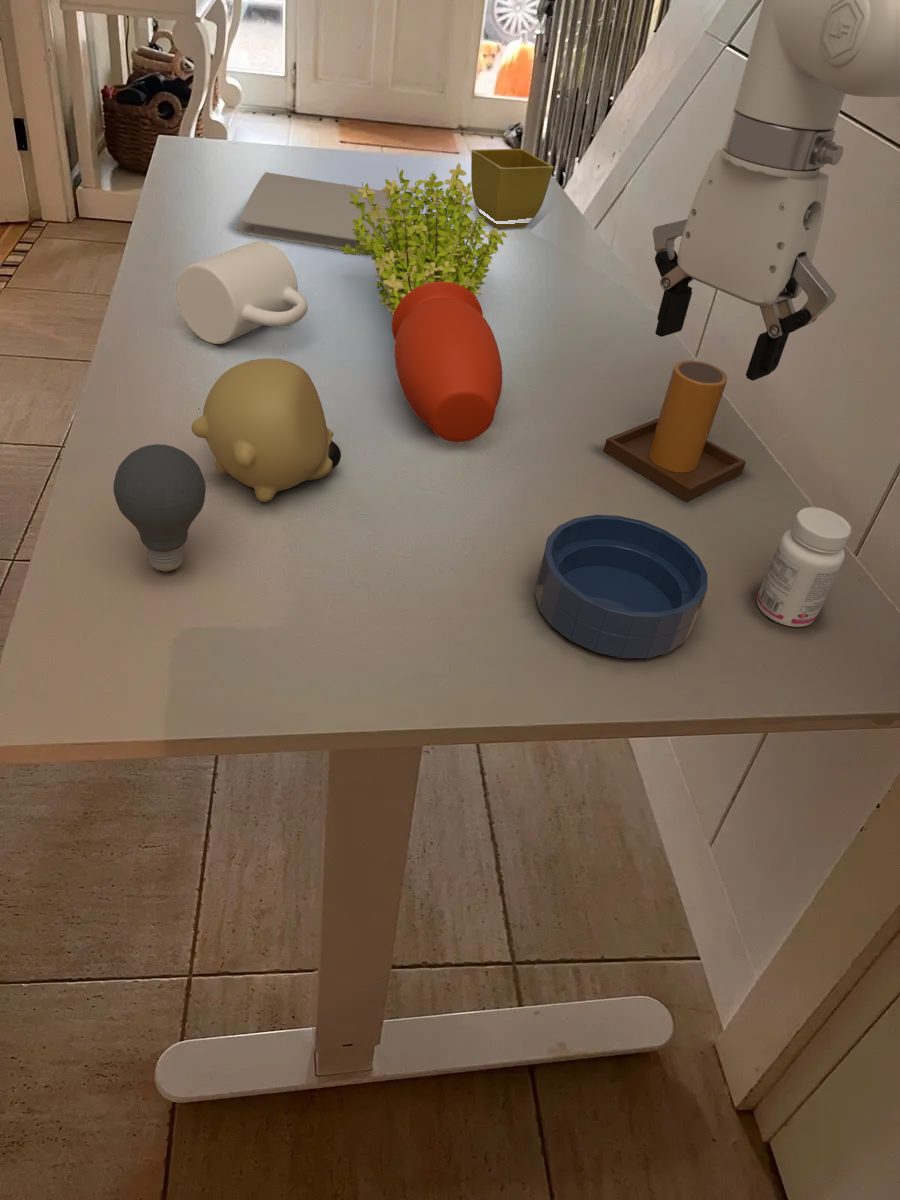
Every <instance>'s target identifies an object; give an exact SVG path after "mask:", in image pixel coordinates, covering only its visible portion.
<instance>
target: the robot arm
mask: <svg viewBox="0 0 900 1200" xmlns="http://www.w3.org/2000/svg"><path fill="white" fill-rule="evenodd" d="M846 95H850V96H853V97H861V98H862V97H864V98H898V97H900V0H763V1H762V4H761V8H760V12H759V16H758V19H757V23H756V27H755V30H754V34H753V38H752V41H751V45H750V47H749V52H748V56H747V59H746V63H745V67H744V70H743V74H742V77H741V81H740V85H739V89H738V93H737V96H736V100H735V103H734V107H733V111H732V114H731V118H730V122H729V125H728V128H727V132H726V136H725V140H724V143H723V147H722V148H718V149H716V151H715V152H714V154H713V156H712V157H711V159H710V162H709V163H708V166H707V167H706V170H705V173H704V175H703V176H702V179H701V182H700V183H699V186H698V188H697V190H696V193H695V196H694V198H693V202H692V205H691V207H690V210H689V213H688V216H687V219H683V220H678V221H675V222H669V223H665V224H661V225H656V226H655V227H654V228H653V230H652V237H653V246H654V251H655V252H656V254H655V255H654V262H655V265H656V267H657V270H658V272H659V275H660V277H661V279H660V281H659V286H660V287H661V289H662V290H664V291H663V293H662V294H663V295H662V297H661V302H660V306H659V310H658V314H657V318H656V319H657V325H656V328H655V335H656V336H658V337H660V338H662V337H666V336H669V335H672V334H676V333H678V332H681V331H682V329H683V327H684V323H685V321H686V316H687V313H688V309H689V305H690V301H691V299H692V295H693V287H691V286H689V284H690V283H691V282H692V281H697V282H699V283H702V284H704V285H706V286H708V287H711V288H713V289H715V290H718V291H720V292H722V293H724V294H727V295H729V296H732V297H733V298H736V299H740V300H741V301H744V302H746V303H748V304H751V305H755V306H757V307H759V310H760V312H761V315H762V320H763V322H764V324H765V325H764V326H765V328H766V331H765V332H762V333H760V334H759V335H758V336H757V340H756V342H755V345H754V348H753V351H752V354H751V357H750V361H749V363H748V366H747V369H746V372H745V377H746V379H748V380H750V381H753V382H754V381H756V380H759V379H761V378H764V377H765V376H769V375H770V374H771V373H773V372H775V370H776V369H777V367H778V366H779V363H780V361H781V358H782V356H783V352H784V350H785V347H786V344H787V341H788V337H789V335H790V334H791V333H794V332H796V331H797V330H799V329H802V328H803V327H805V326H808V325H810V324H811V323H814V322H815V321H816V320H817V319H818V317H820V316H821V315H822V314H823V313H824V312H825V311H826V310H827V309H828V308H829V307H830V306H831V305H833V303H835V301H836V299H837V294H836V292H835V291H834V289H833V288H832V287H831V286H830V285H829V283H828V281H827V280H826V279H825V278H824V277H823V275H821V273H820V272H819V271H818V269H817V268H816V267H815V266H814V265H813V264H812V262H813V258H814V255H815V252H816V247H817V243H818V240H819V235H820V232H821V227H822V223H823V219H824V214H825V207H826V201H827V194H828V186H829V178H830V177H829V175H828V174H826V173H823V172H821V169H822V168H824V167H825V165H827V164H828V165H830V166H836V165H838V163H839V162H840V161H841V159H842V157H843V154H844V147H843V146H842V145H839V144H836V143H835V141H833V139H834V137H835V134H836V130H834V129H835V126H836V124H837V120H838V118H839V115H840V112H841V109H842V105H843V104H844V103H843V102H844V100H845V98H846ZM678 237H679V238H680V237H681V239H680V243H679V247H678V251H676V250H675V240H676V239H677V238H678ZM802 291H804V293H805V294H806V296H807V301H806V302H805V304H804V305H802V307H801V308H800V309H799V310H797V311H796V309H795V307H794V303H793V299H796V298H798V297H799V296H800V295H801V293H802Z"/></svg>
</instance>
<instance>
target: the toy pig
mask: <svg viewBox="0 0 900 1200" xmlns="http://www.w3.org/2000/svg"><path fill="white" fill-rule="evenodd" d="M323 408H324V407H323V405H322V402H321V399H320V396H319V393H318V391H317V389H316V386H315V384H314V382H313V380H312V379H311V377H310V375H309V374H308V373H307V372H306V370H305V369H304V368H303V367H302V366H299V365H298V364H296V363H294V362H291V361H288V360H285V359H282V358H281V359H280V358H268V357H267V358H257V359H251V360H247V361H244V362H241V363H239V364H236V365H234V366H232V367H230V368H229V369H227V370H226V371H225V372H223V373H222V374H221V375H220V376H219V378H217V380H216V381H215V382H214V384H213V385H212V387H211V388H210V390H209V392H208V394H207V396H206V400H205V401H204V406H203V410H202V411H203V412H202V415H201V416H200V417H198V418H196V419H195V420H194V421H192V424H191V431H192V433H193V435H194V436H196V437H197V438H200V439H204V440H205V441H206V443H207V445H208V447H209V449H210V451H211V453H212V455H213V457H214V458H215V461H214V467H215V469H216V471H217V472H218V473H220V474H229V475H230V476H232V477H233V478H234V479H235V480H237V481H238V482H240V483H242V484H244V485H245V486H247V487H249V488H253V489H254V494H255V497H256V499H258V500H259V501H260V502H263V503H264V502H265V503H266V502H269V501H271V500H272V499H273V498H274V497H275V495H276V494H277V492H278V491H279V492H280V491H284V490H288V489H291V488H293V487H295V486H298V485H299V484H301V483H302V482H305V481H314V480H319V479H322V478H324V477H326V476H328V475H329V474H330V472H331V471H332V470H333V469H335V468H337V466H338V465H339V463H340V462H341V459H342V452H341V449H340V447H339V446H338V444H337V443H336V442H335V441H333V439H332V438H333V436H334V432H333V431H332V430H330V429H328V427H327V423H326V417H325V413H324V410H323Z"/></svg>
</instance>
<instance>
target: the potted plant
mask: <svg viewBox="0 0 900 1200" xmlns="http://www.w3.org/2000/svg"><path fill="white" fill-rule="evenodd" d="M461 168H462V166H461V163H460V162H458V163H457V164H456V168H455V169H454V168H450V169H449V173H450V174H451V178H450V179H445V180H444V182H443V181H442V180H438V181H436V180H437V179H438V177H437V176H436V175H437V173H434V172H435V170H433V171H432V172H431V173H430V174H429V177H428V176H426V177H425V179H424V180H422V179H418V180H416V181H414V182H415V183H414V186H411V187H408V186H409V184H410V182H411V180H410V179H405V178H404V177H403V176H404V169H401V170H400V171H399V169H398V166H396V171H397V173H398V179H399V183H400V185H401V186H398V184H397V180H396V179H393V180H391V182H390V180H389V179H386V178H384V180H385V185H384V188H382V189H381V191H382V192H384V193H387V195H386V199H387V200H389V199H390V201H391V199H393V201H391V203H390V207H391V208H388V207H387V208H385V210H386V211H387V212H389V213H386V214H385V213H384V212H379V211H380V205H379V204H373V199H374V196H375V192H374V191H372V190H370V191H368V190H369V189H370V187H369V183H368V182H367V183H365V184H363V183H361V187H362V188H364V190H363V189H358V190H357V192H359V193H362V194H363V195H362V198H363V199H366V197H367V196H370V197H369V198H368V199H367V200H368V201H369V203H370V201H371V203H370V204H371V206H375V207H374V208H372V209H373V210H370V211H368V213H367V214H366V215H365V212H364V209H365V206H364V205H365V202H364V203H362V202H360V203H358V202H357V201H358V200H359V198H360V195H359V193H358V194H357V195H356V198H355V195H354V194H353V193H351V192H349V193H350V196H351V198H353V201H350V202H349V203H351V204H354V205H355V206H356V208H357V209H359V208H361V213H362V215H363V216H362V217H361V218H360V216H359V218H358V220H355V219H354V220H352V221H353V222H354V223H355V225H354V226H355V228H352V230H354V231H355V232H354V233H353V234H354V235H356V237H355V238H356V239H357V241H356V243H359V242H360V241H361V242H360V244H359V245H358V246H357V247H356V245H355V249H352V247H351V249H350V246H349V245H348V244H346V249H345V248H343V247H340V248H339V249H338V250H339V251H341V252H342V253H341V254H342V255H351V256H371V257H370V258H371V260H372V261H374V262H373V267H375V271H376V272H377V274H375V275H374V277H375V278H378V280H377V281H376V282H377V283H376V284H375V285H374V286H375V287H376V289H379V291H378V293H377V294H378V296H381V297H380V300H381V301H380V302H379V304H380V305H383V306H384V307H385V308H387V309H388V312H389V313H390V314H391V315H392V320H391V333H392V336H393V340H394V363H395V369H396V374H397V378H398V382H399V385H400V388H401V391H402V393H403V396H404V398H405V400H406V402H407V404H408V405H409V407H410V409H411V410H412V411H413V413H414V414H415V415H416V416H417V417H418V418H419V419H420V420H421V422H422V423H424V425H426V426H427V427H428V428H429V429H431V431H432V432H433V433H434V434H435V435H436V436H437V437H438V438H440V439H442V440H444V441H447V442H450V443H465V442H469V441H472V440H475V439H476V438H478V437H480V436H482V435H483V434H484V433H485V432H487V431H488V429H489V428H490V427H491V425H492V423H493V421H494V419H495V414H496V410H497V407H498V404H499V401H500V397H501V395H502V389H503V366H502V359H501V353H500V351H499V347H498V343H497V341H496V337H495V334H494V332H493V330H492V327H491V326H490V324H489V323H488V321H487V320H486V318H485V317H484V312H483V307H482V306H481V303H480V301H479V300H478V296H477V295H482V294H483V292H482V291H478V290H481V286H482V285H484V284H486V282H484V281H483V279H485V278H487V275H486V273H488V272H490V270H491V269H489V265H490V264H492V261H491V260H492V259H493V256H492V255H494V254H497V252H498V251H499V246H498V244H500V245H501V246H504V241H503V239H502V238H506V239H507V238H508V235H507V233H506V232H504V231H501V232H500V233H499V232H498V228H496V227H494V229H491V230H489V232H488V234H487V231H486V230H484V227H488V224H487V223H488V222H487V221H485V220H484V219H483V218H486V217H484V216H480V215H479V214H477V215H476V216H475V219H474V220H473V219H471V217H469V216H468V214H469V213H471V212H472V211H473V210H474V208H472V205H470V204H468V203H469V202H470V201H472V200H474V197H473V193H472V190H471V188H472V185H471V181H470V182H469V183H468V184H467V185H466V186H465V183H464V181H463V180H462V179H461V178H459V176H466V175H467V172H466V171H465V170H464V169H461ZM427 177H428V179H427ZM422 184H423V187H424V190H423V189H422V188H420V186H421V185H422ZM363 185H364V186H363ZM444 185H449V186H448V187H447V188H446V189H445V190H444V188H443V187H442V186H444ZM438 188H440V189H438ZM400 192H402V193H400ZM399 193H400V194H402V195H401V197H400V194H399ZM412 196H414V197H413V198H412V202H410V201H411V197H412ZM399 197H400V198H403V199H401V200H402V202H401V200H400V199H398V198H399ZM404 199H408V200H406V201H405V200H404ZM403 200H404V201H403ZM407 201H408V202H407ZM463 201H464V204H463ZM410 204H411V206H410ZM359 206H360V207H359ZM371 206H370V207H371ZM407 207H409V208H408V209H407ZM359 210H360V209H359ZM405 210H406V211H405ZM424 210H425V212H424ZM399 211H401V212H402V213H403V214H405V216H406V217H403V216H402V215H401V214H400V213H399ZM391 212H392V213H391ZM422 212H424V213H422ZM372 215H374V217H373V222H372V221H371V216H372ZM386 215H387V217H388V219H389V221H385V220H386V219H385V218H381V219H379V218H378V216H380V217H385V216H386ZM365 216H367V219H364V217H365ZM481 217H483V218H481ZM363 220H365V221H366V222H368V224H370V225H371V226H372V227H373V228H374V229H375V230H376V229H378V230H379V232H377V231H375V230H373V233H374V234H372V235H370V232H369V230H367V229H365V228H366V226H365V223H364V224H362V221H363ZM377 220H378V221H377ZM390 220H391V221H390ZM376 221H377V222H378V224H379V222H380V224H379V225H378V226H377V227H376V228H375V224H374V223H375V222H376ZM384 221H385V224H387V225H389V226H385V225H384ZM484 221H485V222H484ZM359 224H360V225H361V226H360V225H359ZM383 225H384V229H383V227H382V226H383ZM385 227H388V228H389V231H385ZM383 231H384V232H383ZM364 232H367V233H366V234H365V233H364ZM368 232H369V233H368ZM382 232H383V235H384V237H383V236H382V235H381V233H382ZM378 233H379V234H378ZM385 233H386V234H388V235H387V237H386V236H385ZM360 235H361V237H360ZM482 235H483V236H484V237H482ZM370 236H372V237H378V239H377V238H372V239H370ZM364 237H366V238H365V239H364ZM379 237H380V238H379ZM385 238H386V240H387V241H385ZM485 238H487V242H488V243H487V242H485V243H484V242H483V241H485ZM465 240H466V241H465ZM366 242H367V243H366ZM386 242H388V244H389V245H388V244H387V243H386ZM392 244H393V245H392ZM387 245H388V247H387V248H386V246H387ZM359 248H363V249H361V250H362V251H363V250H364V249H365V251H364V253H363V252H362V251H360V250H359ZM370 250H371V251H370ZM388 250H390V253H388ZM373 254H374V255H373ZM480 285H481V286H480ZM380 288H381V289H380ZM387 292H388V293H387Z"/></svg>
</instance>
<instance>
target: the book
mask: <svg viewBox="0 0 900 1200" xmlns="http://www.w3.org/2000/svg"><path fill="white" fill-rule="evenodd" d="M358 189H363V190H364V187H362V186H355V185H349V184H342V183H336V182H330V181H325V180H324V181H323V180H317V179H311V178H305V177H298V176H292V175H286V174H280V173H273V172H269V171H265V172H264V173H263V174H262V175H261V177H260V179H258V182H257V184H255V187H254V188H253V190H252V192H251V194H250V195H249V198H248V200H247V202H246V204H245V206H244V209H243V212H242V214H241V217H240V219H239V220H238V222H237V223H236V230H238V232H240V233H242V234H245V235H248V236H253V237H260V238H266V239H272V240H279V241H284V242H291V243H297V244H303V245H310V246H315V247H322V248H328V249H335V250H339V248H340V247H343V248H345V249H346V244H348V245H349V246H350V249H351V247H352V249H355V245H356V247H357V246H358V245H359V244H360V242H361V241H360V242H359V243H356V241H357V239H356V238H355V237H356V235H354V234H353V233H354V232H355V231H354V230H352V228H355V226H354V225H355V223H354V222H353V221H352V220H354V219H355V220H358V218H359V216H360V218H361V217H362V216H363V215H362V213H361V208H359V209H360V210H359V209H357V208H356V206H355V205H354V204H351V203H349V202H350V201H353V198H351V196H350V193H349V192H351V193H353V194H354V195H355V198H356V195H357V194H358V193H359V192H357V190H358ZM370 190H372V191H374V192H375V196H374V199H373V204H379V205H380V211H379V212H384V213H385V214H386V213H389V212H387V211H386V210H385V208H387V207H388V208H391V207H390V203H391V201H393V199H391V201H390V199H389V200H387V199H386V195H387V193H384V192H382V189H381V190H380V189H374V188H369V190H368V191H370ZM399 194H400V197H401V195H402V194H403V193H399ZM359 195H360V198H359V200H358V201H357V202H358V203H360V202H362V203H364V202H365V205H364V206H365V209H364V212H365V215H366V214H367V213H368V211H370V210H373V209H372V208H374V207H375V206H371V204H370V203H371V201H370V203H369V201H368V200H367V199H368V198H369V197H370V196H367V197H366V199H363V198H362V195H363V194H362V193H359ZM400 197H399V198H398V199H400V200H401V199H403V198H400ZM413 197H415V195H412V197H411V201H410V202H412V198H413ZM404 200H405V201H406V200H408V199H404ZM404 200H403V201H404ZM401 202H402V200H401ZM407 202H408V201H407ZM370 206H371V207H370ZM410 206H411V207H412V205H411V204H410ZM359 207H360V206H359ZM408 208H409V207H407V209H408ZM405 211H406V210H405ZM391 213H392V212H391ZM399 213H400V214H401V215H402V216H403V217H406V216H405V214H403V213H402V212H401V211H399ZM373 217H374V215H372V216H371V221H372V222H373ZM378 218H379V219H381V218H385V219H386V220H385V221H389V219H388V217H387V215H386V216H385V217H380V216H378ZM364 219H367V216H365V217H364ZM377 221H378V220H377ZM377 221H376V222H375V223H374V224H375V228H376V227H377V226H378V225H379V224H380V222H379V224H378V222H377ZM385 221H384V225H385V226H389V225H387V224H385ZM390 221H391V220H390ZM364 223H365V226H366V228H365V229H367V230H369V232H370V235H372V234H374V233H373V230H375V229H374V228H373V227H372V226H371V225H370V224H368V222H366V221H365V220H363V221H362V224H364ZM359 225H360V224H359ZM384 225H383V226H382V227H383V229H384ZM360 226H361V225H360ZM375 231H377V232H379V230H378V229H376V230H375ZM385 231H389V228H388V227H385ZM369 232H368V233H369ZM383 232H384V231H383ZM383 232H382V233H381V235H382V236H383V237H384V235H383ZM364 233H365V234H366V233H367V232H364ZM378 234H379V233H378ZM387 235H388V234H386V233H385V236H386V237H387ZM360 237H361V235H360ZM365 238H366V237H364V239H365ZM372 238H377V239H378V237H372V236H370V239H372ZM379 238H380V237H379ZM385 241H387V240H386V238H385ZM366 243H367V242H366ZM386 243H387V244H388V242H386ZM388 245H389V244H388ZM388 245H387V246H386V248H387V247H388ZM392 245H393V244H392ZM361 249H363V248H359V250H360V251H362V250H361ZM364 251H365V249H364V250H363V251H362V252H363V254H364ZM370 251H371V250H370ZM388 253H390V250H388ZM372 256H374V254H373V255H372Z"/></svg>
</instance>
